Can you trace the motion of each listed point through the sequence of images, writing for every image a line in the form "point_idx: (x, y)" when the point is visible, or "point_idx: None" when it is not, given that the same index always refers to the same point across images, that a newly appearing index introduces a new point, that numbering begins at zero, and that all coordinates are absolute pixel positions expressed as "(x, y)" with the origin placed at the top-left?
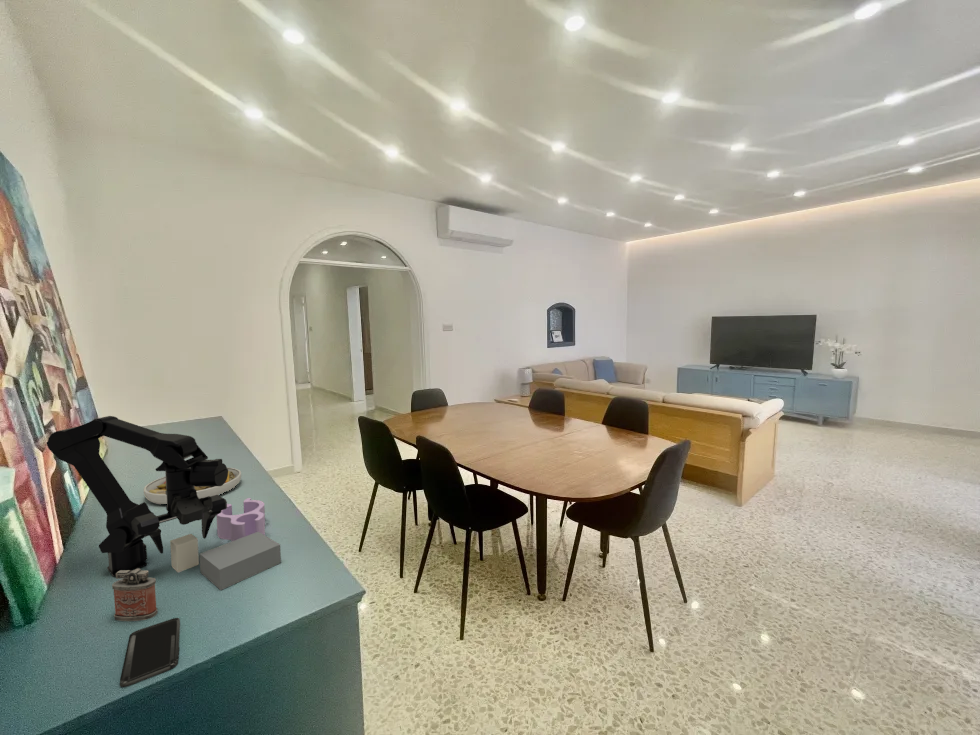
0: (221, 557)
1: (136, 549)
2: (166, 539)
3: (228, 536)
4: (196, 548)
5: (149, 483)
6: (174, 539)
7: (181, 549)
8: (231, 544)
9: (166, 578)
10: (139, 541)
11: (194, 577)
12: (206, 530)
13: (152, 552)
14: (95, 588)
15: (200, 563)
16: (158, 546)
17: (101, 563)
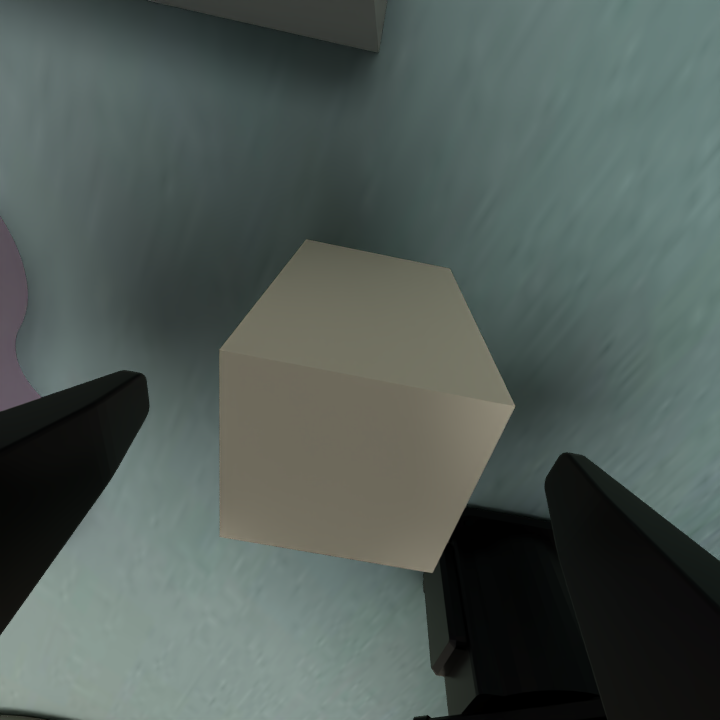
0: None
1: (524, 643)
2: (271, 619)
3: (13, 404)
4: (282, 295)
5: None
6: (394, 560)
7: (440, 349)
8: None
9: (537, 263)
10: (494, 702)
11: (456, 13)
12: (27, 421)
13: (364, 580)
14: (699, 511)
15: (380, 2)
16: (689, 544)
17: None
